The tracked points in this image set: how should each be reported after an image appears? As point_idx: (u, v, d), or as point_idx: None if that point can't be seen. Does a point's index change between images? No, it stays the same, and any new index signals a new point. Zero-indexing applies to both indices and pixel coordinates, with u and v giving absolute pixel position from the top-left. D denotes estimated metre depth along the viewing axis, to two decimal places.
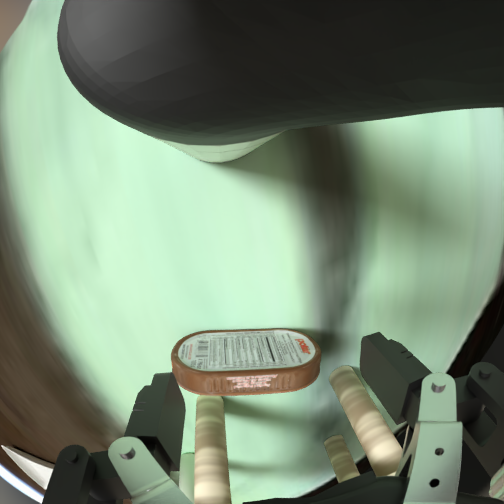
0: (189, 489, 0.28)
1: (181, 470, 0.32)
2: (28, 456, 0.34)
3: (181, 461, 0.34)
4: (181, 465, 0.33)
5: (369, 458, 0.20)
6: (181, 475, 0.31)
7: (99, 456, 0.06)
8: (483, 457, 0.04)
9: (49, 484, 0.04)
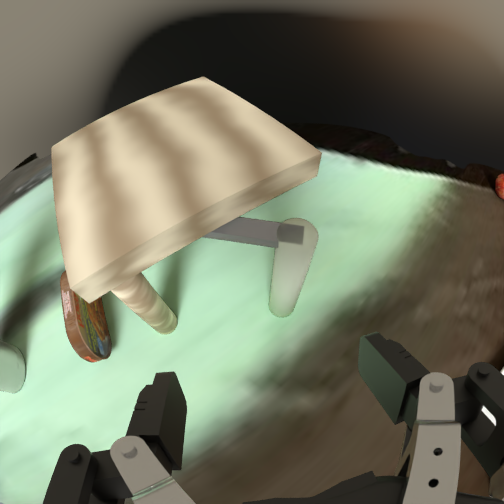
0: (272, 287, 0.31)
1: (280, 308, 0.34)
2: None
3: (279, 313, 0.36)
4: (280, 311, 0.35)
5: None
6: (280, 305, 0.33)
7: (101, 455, 0.06)
8: (482, 457, 0.04)
9: (50, 483, 0.04)
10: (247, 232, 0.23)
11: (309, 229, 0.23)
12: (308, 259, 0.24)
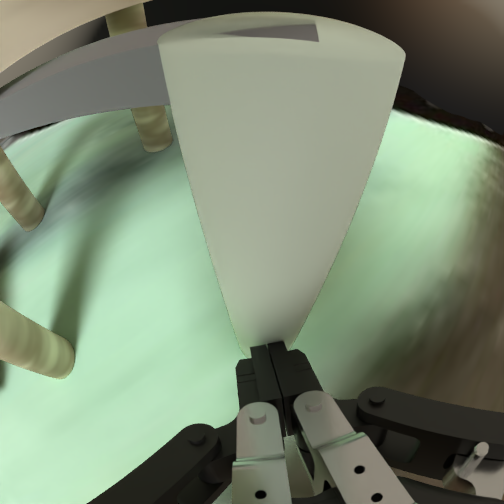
0: (227, 309, 0.11)
1: None
2: None
3: None
4: None
5: None
6: None
7: (219, 432, 0.07)
8: (416, 469, 0.05)
9: (153, 456, 0.05)
10: (49, 71, 0.03)
11: (343, 26, 0.03)
12: (360, 169, 0.04)
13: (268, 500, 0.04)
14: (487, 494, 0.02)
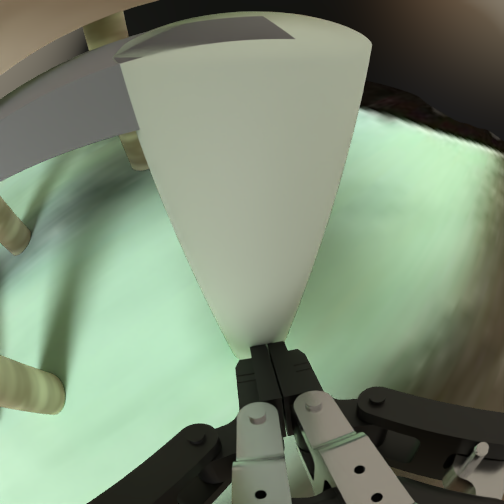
0: (219, 323, 0.10)
1: None
2: None
3: None
4: None
5: None
6: None
7: (219, 432, 0.07)
8: (416, 469, 0.05)
9: (153, 455, 0.05)
10: None
11: (294, 18, 0.03)
12: (344, 156, 0.04)
13: (268, 500, 0.04)
14: (487, 494, 0.02)
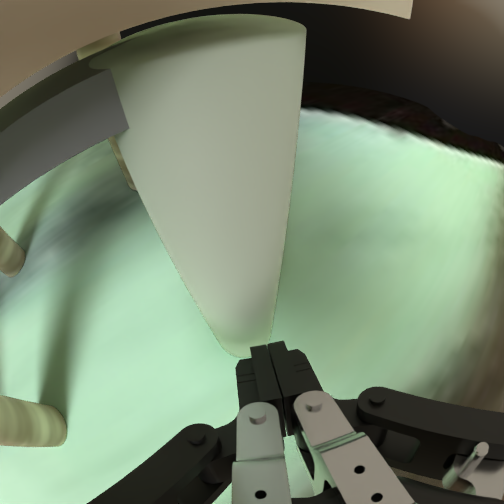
0: (211, 319, 0.11)
1: (254, 343, 0.14)
2: None
3: None
4: None
5: None
6: (251, 340, 0.13)
7: (219, 432, 0.07)
8: (416, 469, 0.05)
9: (153, 455, 0.05)
10: None
11: (230, 17, 0.04)
12: (298, 118, 0.04)
13: (268, 500, 0.04)
14: (487, 494, 0.02)
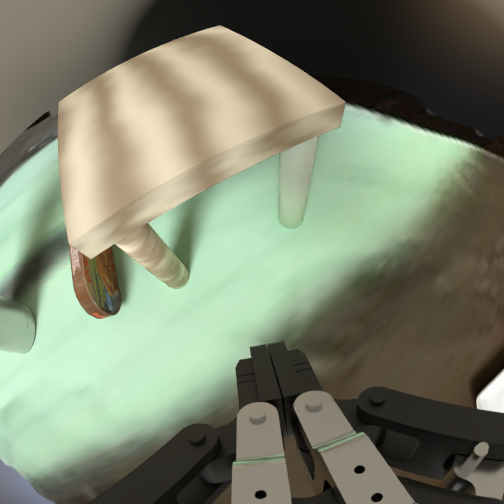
0: (286, 197, 0.31)
1: (297, 215, 0.35)
2: None
3: (296, 222, 0.37)
4: (297, 219, 0.36)
5: None
6: (297, 211, 0.34)
7: (219, 432, 0.07)
8: (416, 469, 0.05)
9: (153, 456, 0.05)
10: None
11: None
12: None
13: (268, 500, 0.04)
14: (487, 494, 0.02)
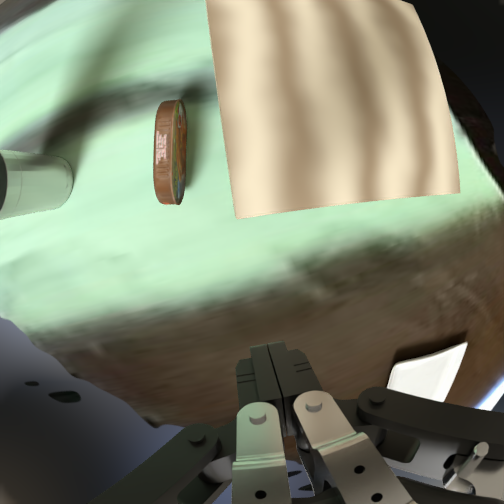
0: None
1: None
2: None
3: None
4: None
5: None
6: None
7: (219, 432, 0.07)
8: (416, 469, 0.05)
9: (153, 456, 0.05)
10: None
11: None
12: None
13: (268, 500, 0.04)
14: (487, 494, 0.02)
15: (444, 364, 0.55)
